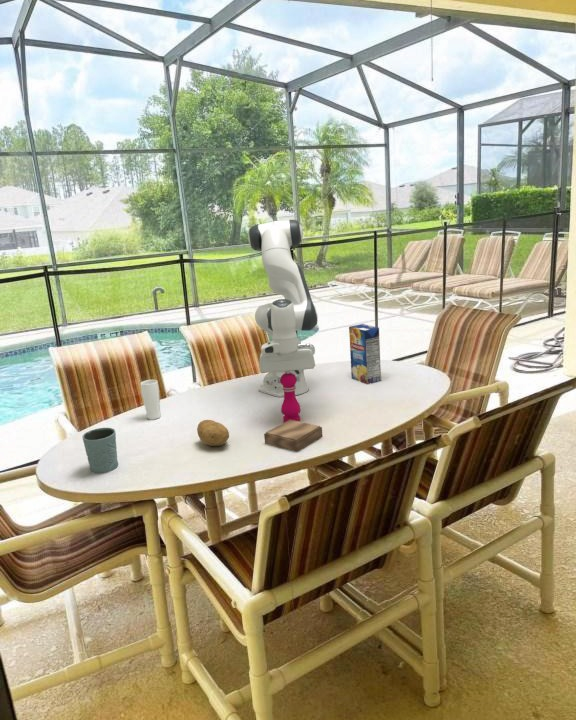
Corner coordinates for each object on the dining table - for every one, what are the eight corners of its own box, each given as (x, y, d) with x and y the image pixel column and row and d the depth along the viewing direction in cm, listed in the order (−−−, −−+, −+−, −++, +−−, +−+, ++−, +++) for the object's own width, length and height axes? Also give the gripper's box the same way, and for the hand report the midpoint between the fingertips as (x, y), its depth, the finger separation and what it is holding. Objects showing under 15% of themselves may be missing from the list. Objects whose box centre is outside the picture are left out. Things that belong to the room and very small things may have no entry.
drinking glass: (166, 415, 225) (161, 379, 221) (155, 421, 219) (150, 385, 215) (152, 414, 227) (147, 378, 224) (142, 420, 222) (136, 384, 218)
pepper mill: (299, 424, 204) (295, 371, 199) (280, 424, 205) (275, 372, 200) (302, 417, 210) (299, 366, 205) (284, 417, 212) (279, 366, 207)
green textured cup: (100, 460, 187) (94, 426, 184) (127, 461, 184) (121, 427, 181) (82, 474, 177) (75, 439, 174) (109, 476, 174) (103, 440, 171)
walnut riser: (265, 443, 189) (263, 432, 188) (290, 429, 200) (289, 419, 199) (297, 452, 181) (296, 440, 179) (322, 436, 191) (321, 425, 190)
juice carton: (351, 378, 253) (348, 326, 247) (365, 375, 256) (362, 323, 250) (367, 384, 242) (364, 330, 236) (381, 380, 246) (379, 327, 240)
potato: (213, 455, 184) (210, 432, 181) (192, 443, 194) (189, 422, 192) (238, 445, 189) (235, 423, 187) (216, 435, 200) (213, 414, 198)
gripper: (313, 340, 203) (316, 377, 207) (257, 345, 203) (261, 381, 207) (315, 344, 197) (317, 382, 201) (257, 349, 197) (260, 386, 201)
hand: (288, 382), depth 204 cm, fingers closed on pepper mill, 6 cm apart
